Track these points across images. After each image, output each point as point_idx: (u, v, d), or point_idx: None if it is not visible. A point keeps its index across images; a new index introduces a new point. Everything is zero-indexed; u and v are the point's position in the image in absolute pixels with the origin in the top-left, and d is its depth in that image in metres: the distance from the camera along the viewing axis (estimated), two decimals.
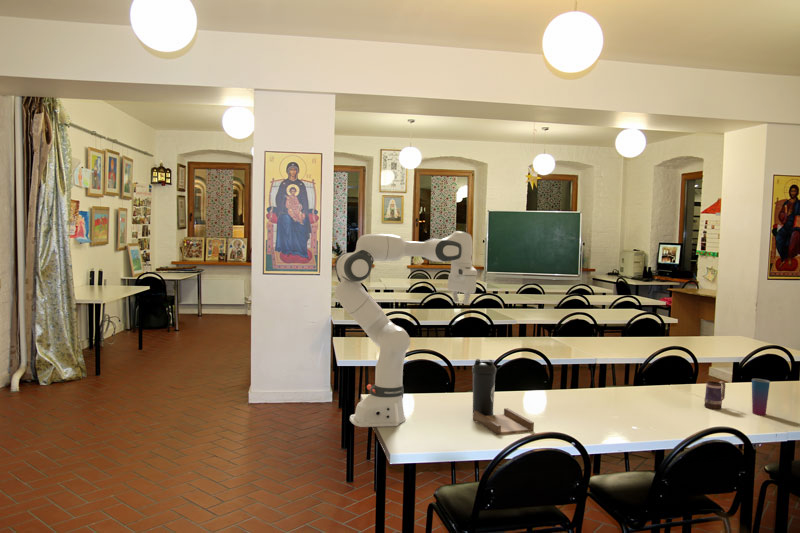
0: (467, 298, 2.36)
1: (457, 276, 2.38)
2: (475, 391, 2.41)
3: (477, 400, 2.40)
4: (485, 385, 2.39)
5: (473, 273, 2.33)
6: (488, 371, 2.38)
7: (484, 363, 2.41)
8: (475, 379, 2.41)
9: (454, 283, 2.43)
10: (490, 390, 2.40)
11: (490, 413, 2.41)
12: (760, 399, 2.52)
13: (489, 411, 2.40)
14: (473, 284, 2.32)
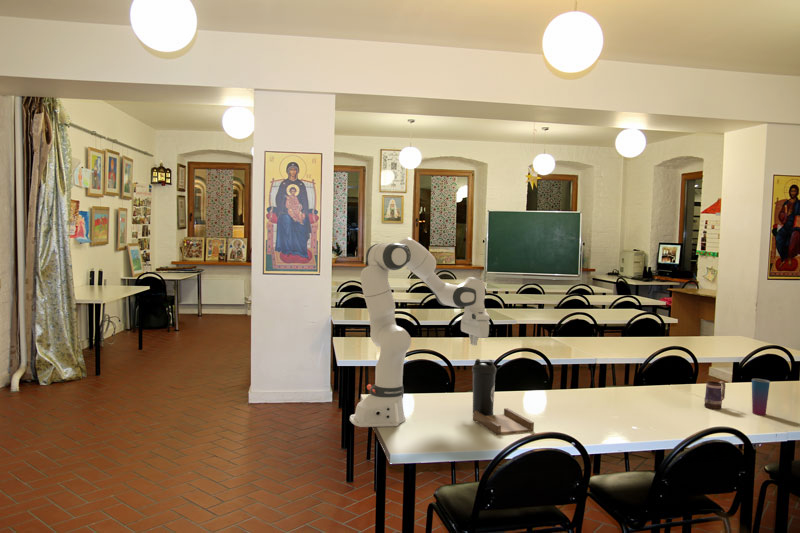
0: (476, 340, 2.51)
1: (470, 320, 2.50)
2: (475, 391, 2.41)
3: (477, 400, 2.40)
4: (485, 385, 2.39)
5: (486, 318, 2.44)
6: (488, 371, 2.38)
7: (484, 363, 2.41)
8: (475, 379, 2.41)
9: (467, 326, 2.54)
10: (490, 390, 2.40)
11: (490, 413, 2.41)
12: (760, 399, 2.52)
13: (489, 411, 2.40)
14: (486, 329, 2.43)
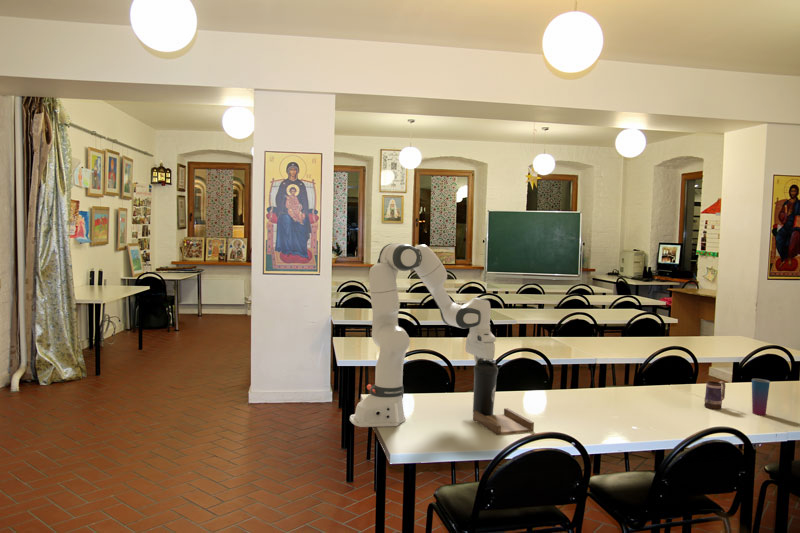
0: None
1: (476, 341, 2.45)
2: (476, 391, 2.40)
3: (478, 400, 2.40)
4: (486, 386, 2.38)
5: (492, 340, 2.40)
6: (490, 372, 2.37)
7: (486, 364, 2.39)
8: (476, 379, 2.40)
9: (472, 347, 2.50)
10: (491, 391, 2.39)
11: (490, 413, 2.41)
12: (760, 399, 2.52)
13: (490, 411, 2.40)
14: (491, 351, 2.39)
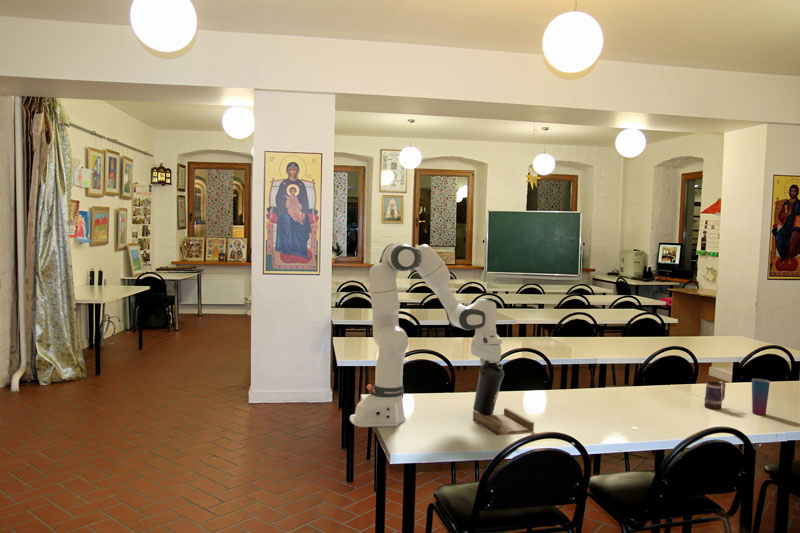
0: None
1: (481, 343, 2.40)
2: (479, 392, 2.38)
3: (480, 401, 2.38)
4: (490, 390, 2.35)
5: (498, 342, 2.35)
6: (495, 378, 2.32)
7: (492, 369, 2.33)
8: (481, 382, 2.36)
9: (478, 349, 2.45)
10: (494, 394, 2.36)
11: (490, 413, 2.40)
12: (760, 399, 2.52)
13: (490, 412, 2.40)
14: (498, 354, 2.34)
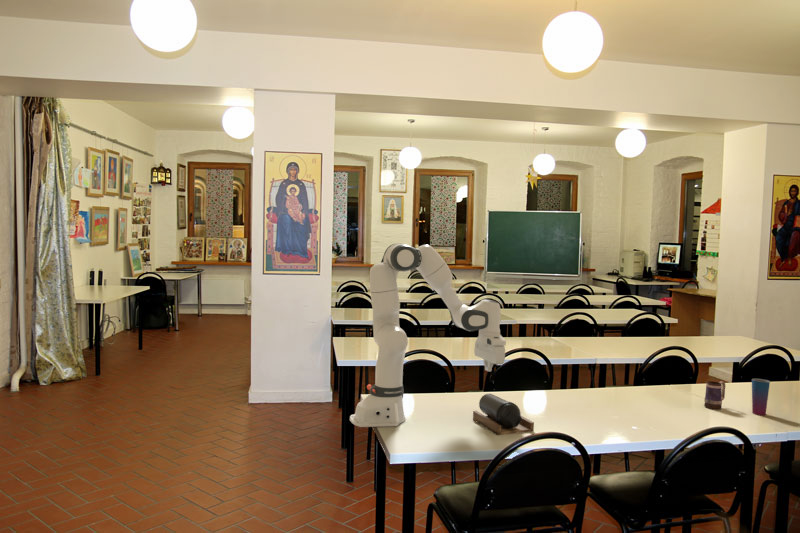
0: (491, 366, 2.38)
1: (485, 345, 2.37)
2: (488, 411, 2.30)
3: (485, 412, 2.33)
4: None
5: (502, 343, 2.32)
6: None
7: (507, 422, 2.19)
8: (492, 414, 2.25)
9: (481, 350, 2.42)
10: None
11: None
12: (760, 399, 2.52)
13: None
14: (501, 355, 2.31)
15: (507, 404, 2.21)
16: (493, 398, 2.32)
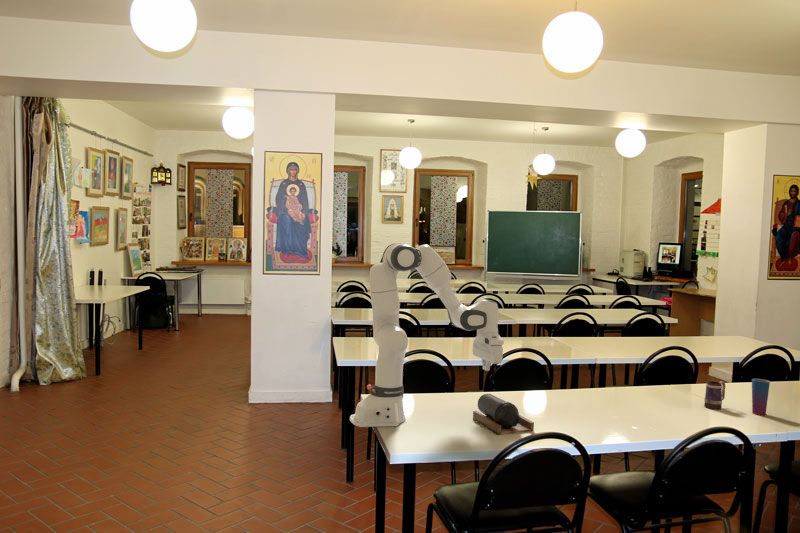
0: (488, 365, 2.40)
1: (483, 344, 2.39)
2: (486, 413, 2.29)
3: (484, 413, 2.33)
4: None
5: (499, 343, 2.33)
6: None
7: (506, 423, 2.19)
8: (491, 416, 2.25)
9: (480, 350, 2.43)
10: None
11: None
12: (760, 399, 2.52)
13: None
14: (499, 355, 2.32)
15: (504, 405, 2.20)
16: (490, 399, 2.31)
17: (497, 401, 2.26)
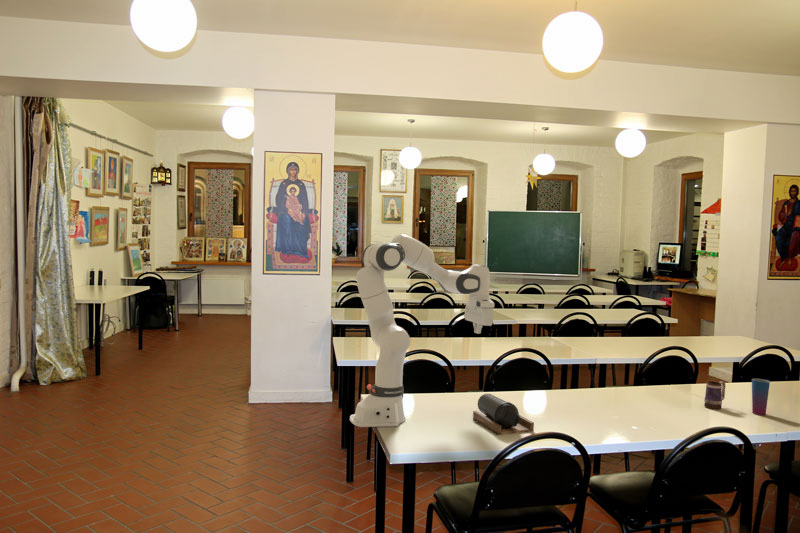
0: (480, 328, 2.48)
1: (475, 308, 2.47)
2: (486, 413, 2.29)
3: (484, 413, 2.33)
4: None
5: (490, 306, 2.41)
6: None
7: (506, 423, 2.19)
8: (491, 416, 2.25)
9: (471, 314, 2.51)
10: None
11: None
12: (760, 399, 2.52)
13: None
14: (490, 317, 2.40)
15: (504, 405, 2.20)
16: (490, 399, 2.31)
17: (497, 401, 2.26)
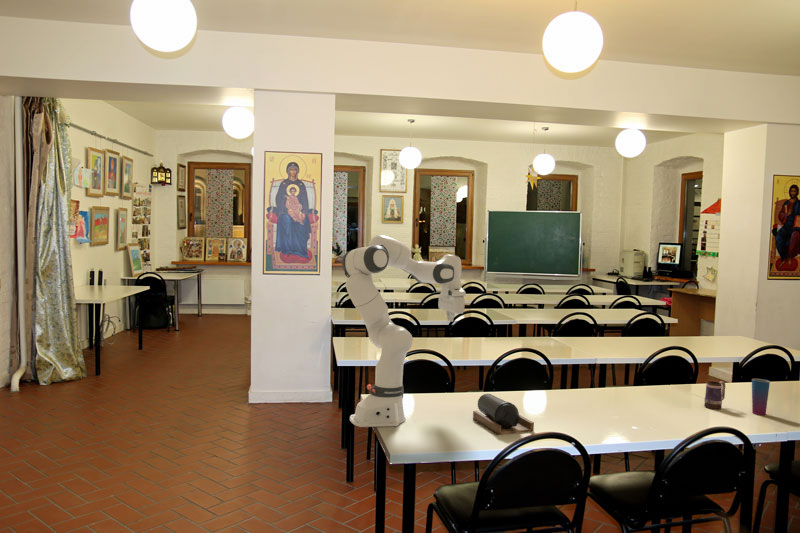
0: (452, 316, 2.55)
1: (447, 297, 2.54)
2: (486, 413, 2.29)
3: (484, 413, 2.33)
4: None
5: (462, 294, 2.49)
6: None
7: (506, 423, 2.19)
8: (491, 416, 2.25)
9: (444, 303, 2.59)
10: None
11: None
12: (760, 399, 2.52)
13: None
14: (461, 305, 2.48)
15: (504, 405, 2.20)
16: (490, 399, 2.31)
17: (497, 401, 2.26)
